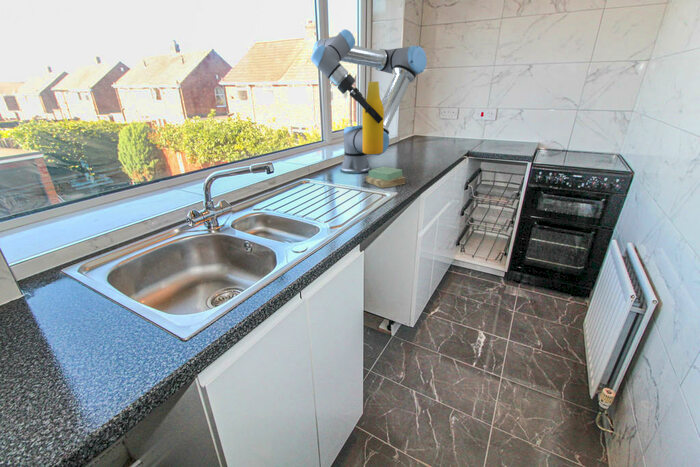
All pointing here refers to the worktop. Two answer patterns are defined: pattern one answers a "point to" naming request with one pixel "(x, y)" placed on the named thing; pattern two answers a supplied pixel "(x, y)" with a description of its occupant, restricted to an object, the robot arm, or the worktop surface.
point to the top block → (385, 173)
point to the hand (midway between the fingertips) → (380, 120)
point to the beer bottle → (373, 122)
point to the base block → (385, 183)
